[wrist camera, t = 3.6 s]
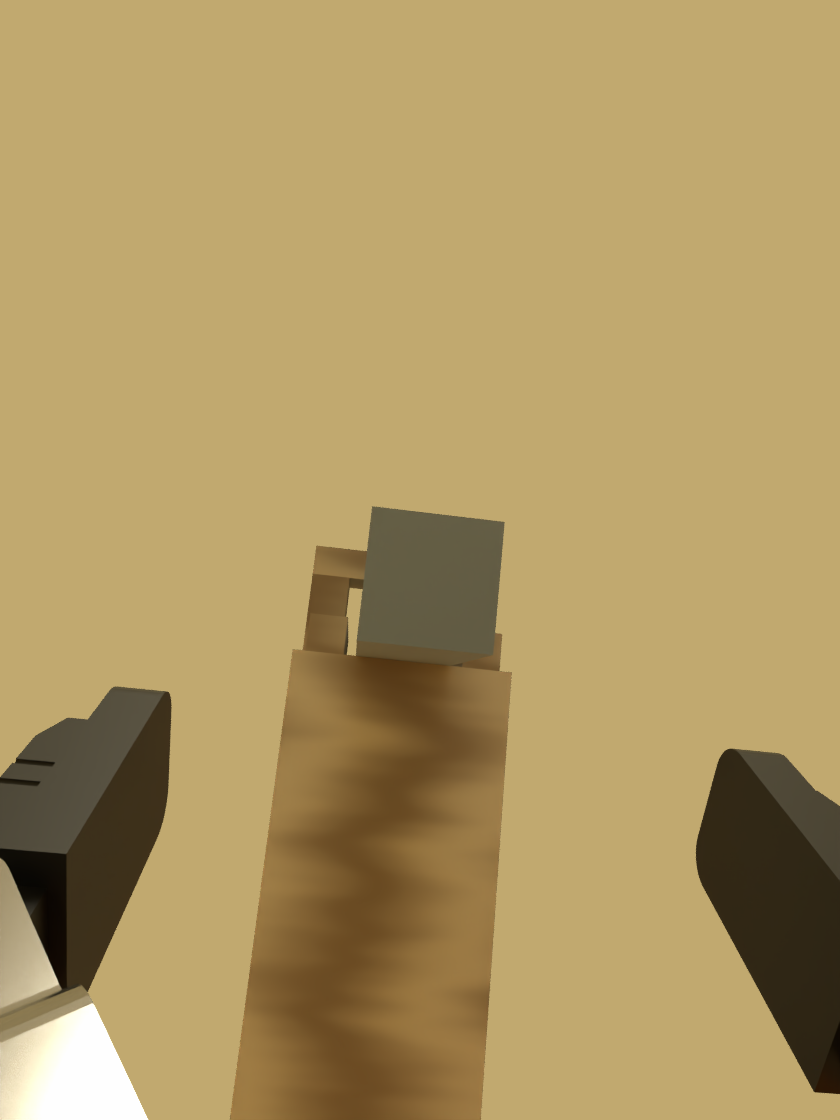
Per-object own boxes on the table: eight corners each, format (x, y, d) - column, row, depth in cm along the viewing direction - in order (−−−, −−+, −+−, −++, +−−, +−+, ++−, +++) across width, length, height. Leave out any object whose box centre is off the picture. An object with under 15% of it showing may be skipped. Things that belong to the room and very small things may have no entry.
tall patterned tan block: (402, 1670, 25) (487, 576, 33) (420, 1989, 18) (521, 537, 26) (174, 1665, 24) (318, 557, 32) (113, 1990, 18) (311, 512, 26)
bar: (430, 670, 32) (438, 596, 32) (492, 655, 17) (504, 521, 18) (355, 662, 31) (364, 588, 32) (356, 640, 17) (372, 506, 18)
